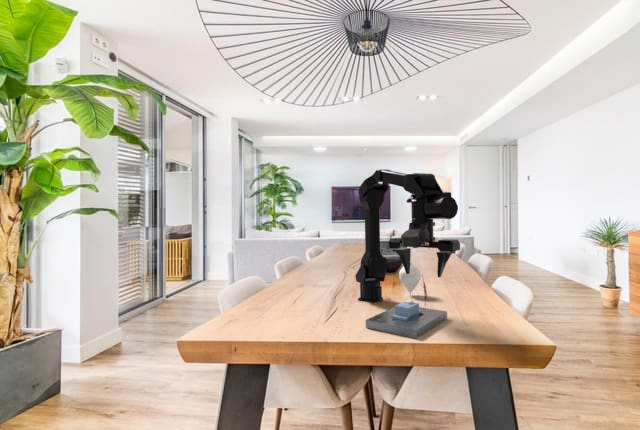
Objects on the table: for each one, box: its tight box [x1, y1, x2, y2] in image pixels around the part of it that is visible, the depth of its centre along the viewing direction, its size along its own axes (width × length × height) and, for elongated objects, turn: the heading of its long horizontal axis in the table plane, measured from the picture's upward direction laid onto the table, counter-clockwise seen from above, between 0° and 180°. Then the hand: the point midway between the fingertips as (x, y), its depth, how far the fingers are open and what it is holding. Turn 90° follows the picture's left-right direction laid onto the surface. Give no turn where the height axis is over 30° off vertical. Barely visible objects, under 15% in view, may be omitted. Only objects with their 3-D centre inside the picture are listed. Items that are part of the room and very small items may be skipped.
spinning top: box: [398, 260, 422, 296], centre depth 132 cm, size 8×8×12 cm
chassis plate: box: [365, 306, 448, 339], centre depth 99 cm, size 20×14×2 cm
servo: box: [392, 299, 422, 321], centre depth 99 cm, size 4×10×6 cm, turn 140°
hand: (423, 275), depth 101 cm, fingers open, 9 cm apart
